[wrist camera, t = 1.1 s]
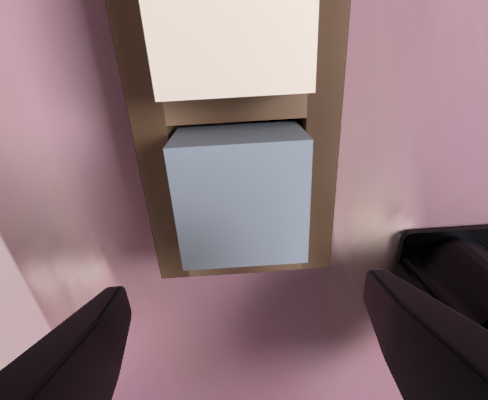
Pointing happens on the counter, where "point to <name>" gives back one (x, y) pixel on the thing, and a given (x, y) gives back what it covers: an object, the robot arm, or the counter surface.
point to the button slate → (241, 194)
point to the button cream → (230, 47)
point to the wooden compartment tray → (233, 110)
